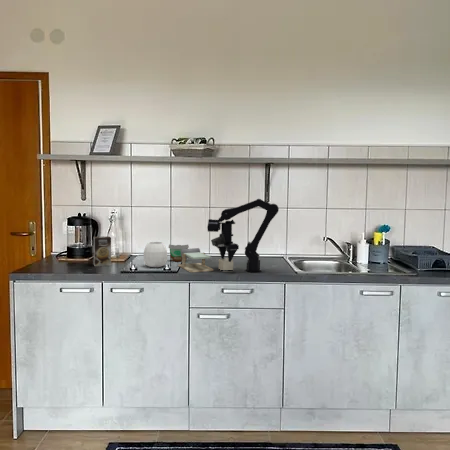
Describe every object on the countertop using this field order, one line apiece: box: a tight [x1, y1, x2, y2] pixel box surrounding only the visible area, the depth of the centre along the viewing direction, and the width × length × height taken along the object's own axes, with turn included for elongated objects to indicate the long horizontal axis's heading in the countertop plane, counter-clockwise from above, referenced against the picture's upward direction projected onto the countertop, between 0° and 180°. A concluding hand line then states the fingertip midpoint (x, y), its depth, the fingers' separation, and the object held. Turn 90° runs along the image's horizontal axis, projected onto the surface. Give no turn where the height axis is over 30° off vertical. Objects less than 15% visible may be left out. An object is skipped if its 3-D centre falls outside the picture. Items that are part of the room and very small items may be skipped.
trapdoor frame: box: [177, 252, 214, 273], centre depth 262 cm, size 13×20×8 cm
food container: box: [167, 243, 190, 263], centre depth 284 cm, size 12×6×10 cm, turn 101°
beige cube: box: [218, 257, 234, 271], centre depth 260 cm, size 6×6×6 cm
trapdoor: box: [181, 247, 212, 260], centre depth 262 cm, size 10×20×5 cm, turn 25°
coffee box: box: [93, 236, 112, 267], centre depth 266 cm, size 9×6×16 cm
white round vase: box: [143, 241, 168, 268], centre depth 266 cm, size 13×13×14 cm
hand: (226, 260), depth 259 cm, fingers open, 9 cm apart
